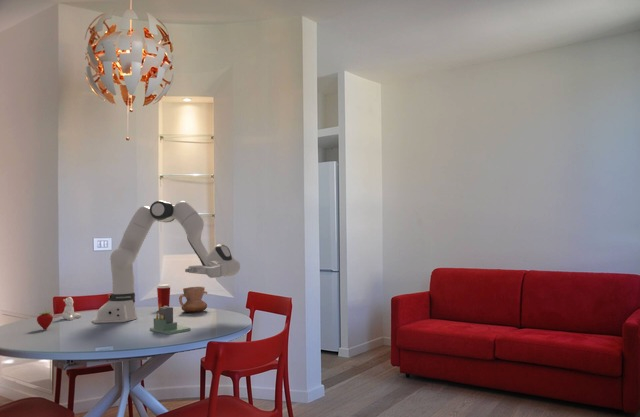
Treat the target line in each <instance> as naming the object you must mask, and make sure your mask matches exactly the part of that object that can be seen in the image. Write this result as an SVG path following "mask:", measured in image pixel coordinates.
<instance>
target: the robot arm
mask: <svg viewBox="0 0 640 417" xmlns="http://www.w3.org/2000/svg"><path fill="white" fill-rule="evenodd" d="M174 220H176V221H177V222H178V223H179V225H181V227H182V228H183V230H184V232H185V234H186V238H187V241H188V243H189V246H191V248H192V249H193V252H194V253H195V255H196V256H197V258H198V259H199V260H200V263H201V265H188V267H187V268H185V269H184V272H185V273H189V274H198V275H206V276H207V277H209V278H210V279H213V278H214V279H216V278H221V277H227V278H228V277H232V276H235V275H237V274H238V273H239V271H240V269H241V263H240V262H239V260H238V259H235V257H234V256H233V255H232V254H231V251H230V249H229V247H228V246H227V245H225V244H216V245H215V246H214V247H213V248H212V250H211V251H210V252H209V251H208V250H207V248H206V247H205V245H204V244H203V242H202V233H203V231H204V224H205V223H204V220H203V218H202V216H201V215H200V214H199V212H197V210H196V209H195V208H194V207H193V206H192V205H191V204H189V203H188V202H187V201H185V200H180V201H177V203H175V204H172V203H170V202H168V201H165V200H156V201H153V203H151V205H150V206H148V205H142V206H140V207H139V208H138V209H137V210H136V211H135V213H134V214H133V216H132V218H131V220H130V221H129V223H128V225H127V227H126V228H125V231H124V232H123V235H122V238H121V240H120V243H119V245H118V247H117V248H115V249H114V250H113V251H111V254H110V258H109V260H110V267H111V268H110V271H111V276H112V279H111V280H112V293H108V294H107V297H108V301H107V302H106V303H104V304H103V305H102V306H101V307H99V309H98V310H97V314H96V317H94V318H93V319H92V323H94V324H98V323H99V324H101V323H103V324H104V323H105V324H107V323H124V322H125V323H126V322H128V321H133V320H137V319H138V316H137V311H136V306H135V305H136V304H135V303H136V293H135V276H134V268H133V264H134V263H135V261H136V259H137V257H138V254H139V253H140V250H141V248H142V245H143V243H144V241H145V239H146V237H147V235H148V234H149V233H150V232H149V231H150V229H151V228H152V226H153V224H154V223H155V222H160V223H161V222H162V223H171V222H173V221H174Z"/></svg>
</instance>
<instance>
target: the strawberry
mask: <svg viewBox="0 0 640 417" xmlns="http://www.w3.org/2000/svg"><path fill="white" fill-rule="evenodd" d="M53 316H54V315H52V314H51V313H50V312H47V310H45V312H41V313H40V314H39V315H38V316H37V317H36V322H37V323H38V325H39V326H40V327H41V328H42V329H43V330H44V329H46V330H47V329H48V328H49V326H50V325H51V324H52V322H53V320H54V319H53V318H54V317H53Z"/></svg>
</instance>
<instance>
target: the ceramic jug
mask: <svg viewBox="0 0 640 417" xmlns="http://www.w3.org/2000/svg"><path fill="white" fill-rule="evenodd" d="M182 291H183V293H181V294H180V295H179V297H178V301H179V304H180V307H181V310H182V311H183V312H186V313H190V314H192V313H193V314H195V313H200V312H203V311H205V310H206V309H207V307H208V304H207V303H206V302H205V301H203V299H202V298H203V296H204V295H205V294H206V295H207V294H208V293H209V292H208V291H207V290H205V286H190V287H183V288H182ZM184 297H185V299H186V301H185V302H184V303H183V298H184Z"/></svg>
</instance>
